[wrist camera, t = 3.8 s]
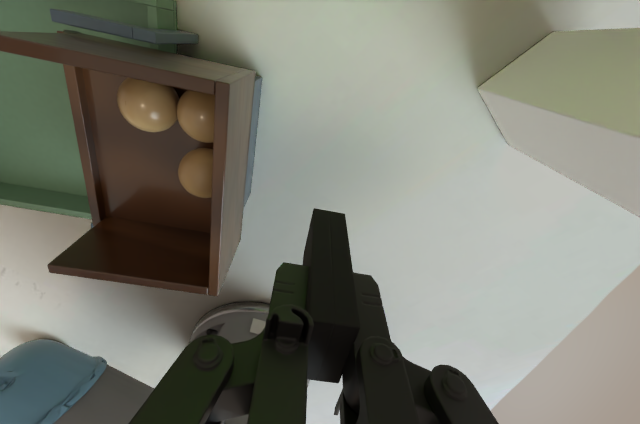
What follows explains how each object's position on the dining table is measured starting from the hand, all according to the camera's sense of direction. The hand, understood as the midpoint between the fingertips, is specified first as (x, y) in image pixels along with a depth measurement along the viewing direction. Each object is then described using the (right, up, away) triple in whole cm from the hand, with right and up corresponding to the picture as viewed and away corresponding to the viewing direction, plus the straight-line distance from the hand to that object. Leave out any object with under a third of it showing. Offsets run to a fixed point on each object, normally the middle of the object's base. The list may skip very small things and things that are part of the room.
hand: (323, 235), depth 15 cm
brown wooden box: (-10, +5, +5) cm, 12 cm away
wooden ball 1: (-9, +7, +2) cm, 12 cm away
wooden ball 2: (-6, +6, +2) cm, 9 cm away
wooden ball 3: (-7, +3, +4) cm, 9 cm away
